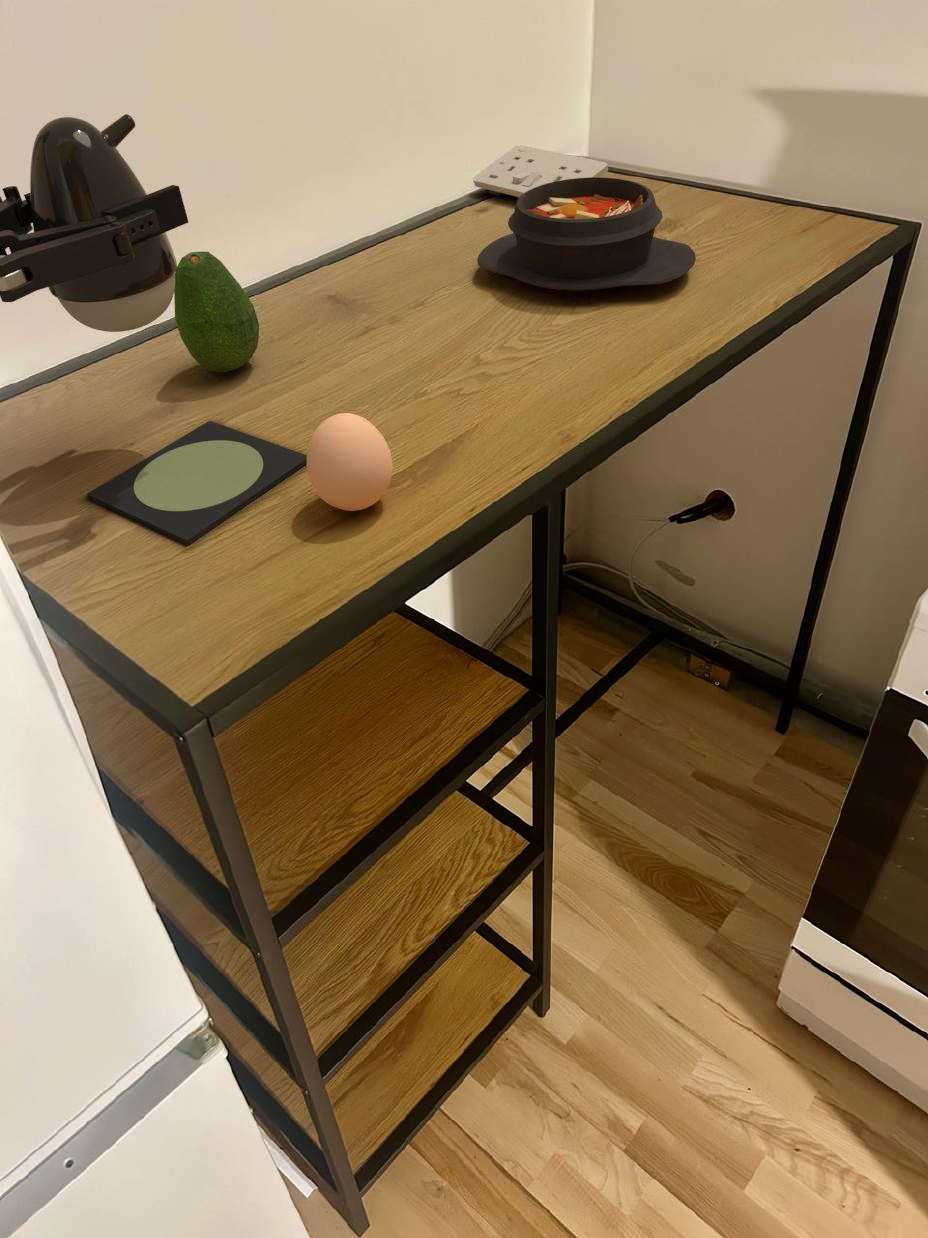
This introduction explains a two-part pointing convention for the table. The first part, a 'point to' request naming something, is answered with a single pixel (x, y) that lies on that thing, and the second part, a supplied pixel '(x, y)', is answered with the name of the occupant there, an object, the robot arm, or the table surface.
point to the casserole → (587, 238)
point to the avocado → (214, 313)
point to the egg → (349, 462)
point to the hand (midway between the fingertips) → (139, 195)
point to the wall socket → (534, 170)
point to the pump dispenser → (80, 191)
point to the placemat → (198, 481)
